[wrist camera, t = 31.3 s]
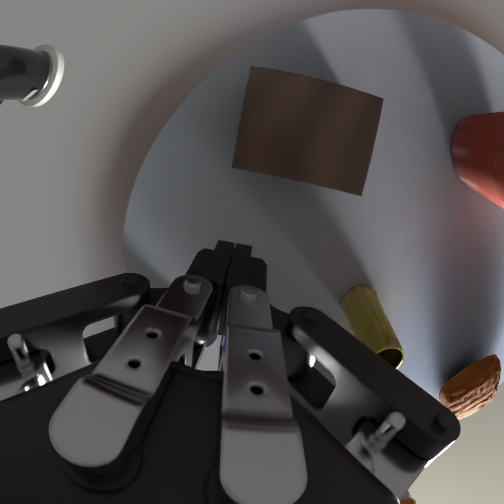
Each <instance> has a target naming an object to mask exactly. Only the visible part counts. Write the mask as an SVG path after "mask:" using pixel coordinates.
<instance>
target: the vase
mask: <svg viewBox="0 0 504 504" xmlns="http://www.w3.org/2000/svg"><path fill="white" fill-rule="evenodd" d="M342 310H343V311H344V313H345V315H346V318H347V320H348V322H349V325H350V327H351V329H352V331H353V334H354V336H355V338H357V339H358V340H359V341H361V342H362V343H363V344H364V345H366V346H367V347H368V348H370V349H371V350H372V351H374V352H375V353H376V354H377V355H379V356H380V357H381V358H383V359H384V360H385V361H387V362H388V363H389V364H390V365H392V366H393V367H394V368H396V369H397V368H398V367H399V366H400V365H401V363H402V362H403V360H404V352H403V349H402V347H401V345H400V343H399V341H398V339H397V337H396V335H395V333H394V331H393V329H392V327H391V325H390V323H389V321H388V319H387V317H386V315H385V313H384V310H383V308H382V306H381V303H380V301H379V300H378V297H377V294H376V292H375V291H374V289H372V288H371V287H368V286H357V287H354V288H353V289H351V290H350V291H348V292H347V293H346V295H345V296H344V298H343V300H342Z"/></svg>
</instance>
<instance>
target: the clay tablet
mask: <svg viewBox="0 0 504 504" xmlns="http://www.w3.org/2000/svg"><path fill="white" fill-rule="evenodd" d="M500 372H501V366H500V361H499V359H498V358H497V356H496V355H495V354H493V355H489V356H487V357H485V358H483V359H481V360H479V361H477V362H475V363H473V364H471V365H469V366H467V367H466V368H464V369H463V370H461V371H460V372H459V373H457V374H456V375H455V376H454V377H452V378H451V379H450V380H449V381H448V382H447V383H445V384H444V386H443V387H442V389H441V391H440V394H439V402H440V403H441V404H443V405H444V406H445V407H447V408H448V409H449V410H451V411H452V412H453V413H454V414H455V415H456V417H457V418H458V420H460V419H462V418H464V417H467V416H469V415H471V414H473V413H474V412H476V411H478V410H479V409H481V408H483V407H484V406H485V405H486V404H487V403H489V402H490V401H491V400H492V399H493V398H494V396H495V393H496V391H497V387H498V384H499V380H500Z"/></svg>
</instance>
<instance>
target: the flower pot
mask: <svg viewBox="0 0 504 504" xmlns="http://www.w3.org/2000/svg"><path fill="white" fill-rule="evenodd" d="M451 153H452V160H453V165H454V168H455V170H456V173H457V175H458V176H459V178H460V179H461V180H462V181H463V182H464V183H465V184H466V185H467V186H468V187H470V188H471V189H473V190H475V191H477V192H478V193H480V194H481V195H483V196H485V197H486V198H488V199H489V200H491V201H493V202H494V203H496V204H497V205H499V206H500V207H502V208H503V209H504V112H495V113H485V114H477V115H470V116H467V117H465V118H464V119H462V120H461V121H460V122H459V124H458V126H457V130H456V132H455V134H454V135H453V138H452V144H451Z"/></svg>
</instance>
